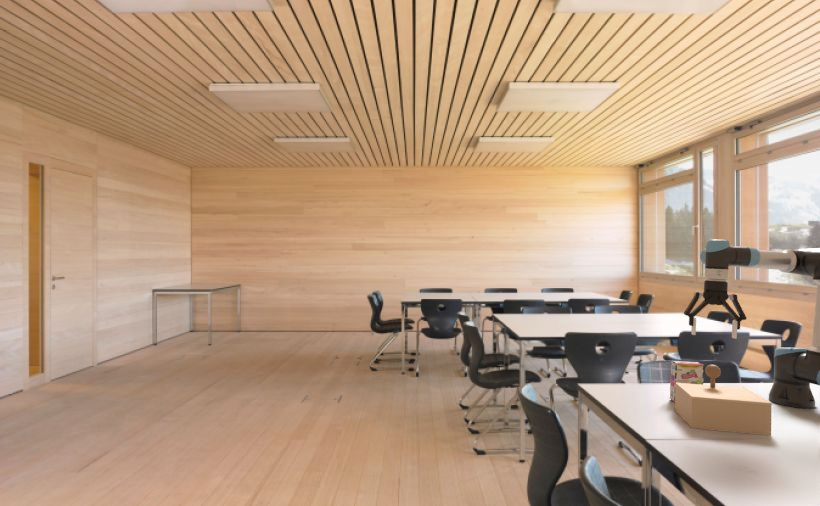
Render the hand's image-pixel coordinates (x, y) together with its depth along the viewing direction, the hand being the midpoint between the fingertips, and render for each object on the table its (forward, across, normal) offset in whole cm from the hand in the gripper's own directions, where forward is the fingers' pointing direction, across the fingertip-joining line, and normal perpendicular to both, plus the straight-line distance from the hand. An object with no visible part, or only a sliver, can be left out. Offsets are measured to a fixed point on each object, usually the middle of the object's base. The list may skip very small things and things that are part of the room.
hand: (713, 336), depth 181 cm
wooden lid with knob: (+20, 0, -8) cm, 21 cm away
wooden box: (+30, +1, -8) cm, 31 cm away
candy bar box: (+30, -4, +16) cm, 34 cm away
